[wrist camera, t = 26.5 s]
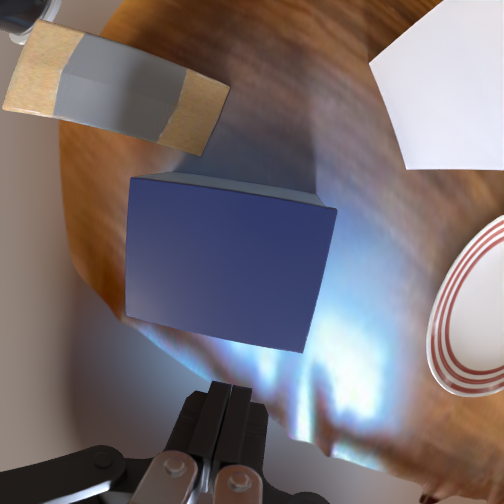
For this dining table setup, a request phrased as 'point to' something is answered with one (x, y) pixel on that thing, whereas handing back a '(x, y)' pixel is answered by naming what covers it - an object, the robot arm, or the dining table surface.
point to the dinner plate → (471, 318)
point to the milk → (448, 87)
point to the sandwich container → (114, 88)
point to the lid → (225, 261)
